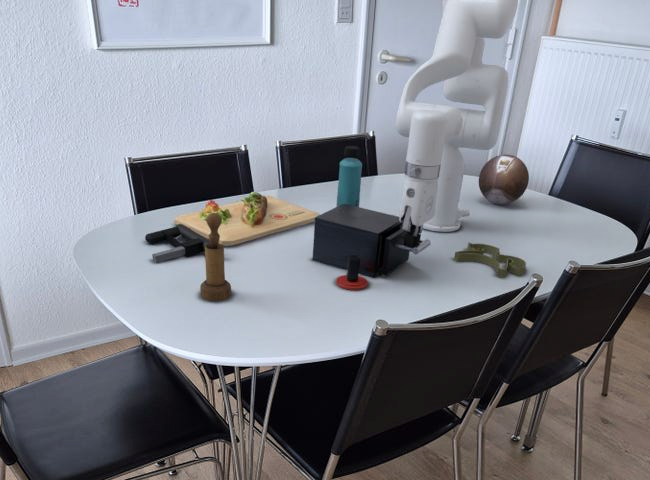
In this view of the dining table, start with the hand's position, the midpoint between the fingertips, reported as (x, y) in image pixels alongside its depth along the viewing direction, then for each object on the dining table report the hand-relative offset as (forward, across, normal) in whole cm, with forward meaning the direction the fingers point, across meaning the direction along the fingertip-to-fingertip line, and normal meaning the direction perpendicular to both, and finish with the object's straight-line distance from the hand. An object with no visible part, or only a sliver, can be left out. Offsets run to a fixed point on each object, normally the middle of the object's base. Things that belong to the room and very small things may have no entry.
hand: (410, 250), depth 151 cm
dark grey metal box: (+6, 0, +14) cm, 15 cm away
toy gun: (+6, -23, +51) cm, 57 cm away
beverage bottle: (+6, +26, +31) cm, 41 cm away
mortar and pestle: (+7, -37, +28) cm, 47 cm away
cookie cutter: (+6, +20, -14) cm, 25 cm away
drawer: (+5, 0, +8) cm, 9 cm away
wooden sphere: (+6, +71, +1) cm, 71 cm away
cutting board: (+6, +5, +50) cm, 51 cm away
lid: (+6, -13, +8) cm, 16 cm away
